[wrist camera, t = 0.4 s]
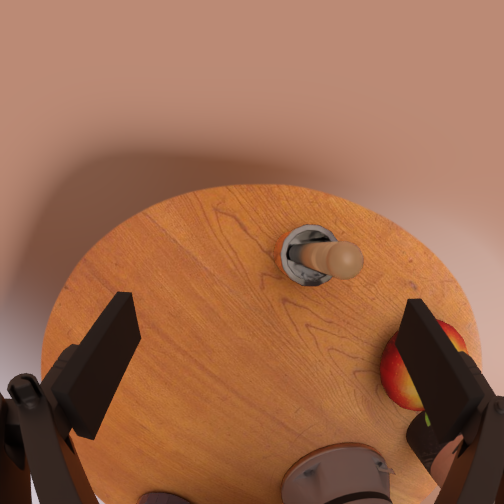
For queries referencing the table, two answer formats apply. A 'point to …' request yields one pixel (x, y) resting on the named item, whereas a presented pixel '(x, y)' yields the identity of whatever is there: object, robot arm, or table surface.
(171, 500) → the bowl
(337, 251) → the stick
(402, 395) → the fruit
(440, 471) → the travel mug
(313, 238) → the holder
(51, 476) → the robot arm
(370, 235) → the table surface
